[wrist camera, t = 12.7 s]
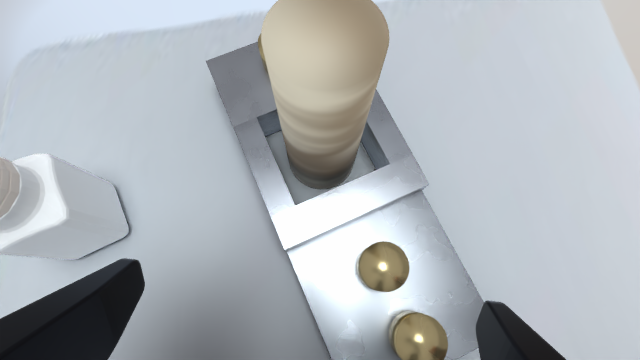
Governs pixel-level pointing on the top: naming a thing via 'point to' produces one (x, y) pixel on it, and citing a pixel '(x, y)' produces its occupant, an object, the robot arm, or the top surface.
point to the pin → (323, 80)
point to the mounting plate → (358, 235)
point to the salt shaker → (56, 209)
